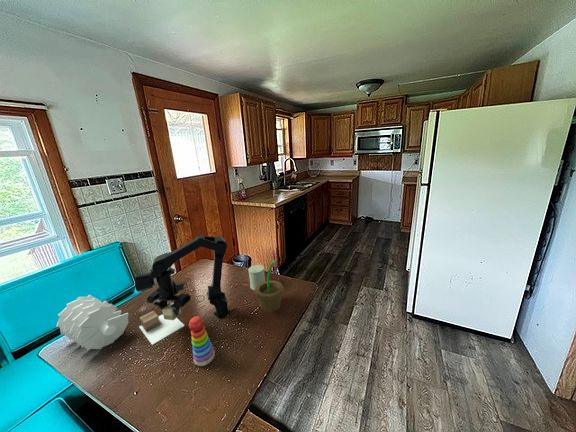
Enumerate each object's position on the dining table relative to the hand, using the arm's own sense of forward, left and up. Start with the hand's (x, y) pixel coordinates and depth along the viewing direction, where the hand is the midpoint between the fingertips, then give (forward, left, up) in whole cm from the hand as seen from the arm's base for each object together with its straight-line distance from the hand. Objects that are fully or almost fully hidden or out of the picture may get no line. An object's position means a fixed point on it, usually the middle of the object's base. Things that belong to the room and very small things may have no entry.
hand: (172, 314), depth 104 cm
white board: (+6, +4, -8) cm, 11 cm away
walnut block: (+11, +7, -7) cm, 15 cm away
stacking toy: (-26, 0, -8) cm, 27 cm away
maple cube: (0, 0, -1) cm, 1 cm away
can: (-5, -46, -8) cm, 47 cm away
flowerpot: (-24, -38, -8) cm, 46 cm away
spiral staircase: (+23, +25, -8) cm, 35 cm away
